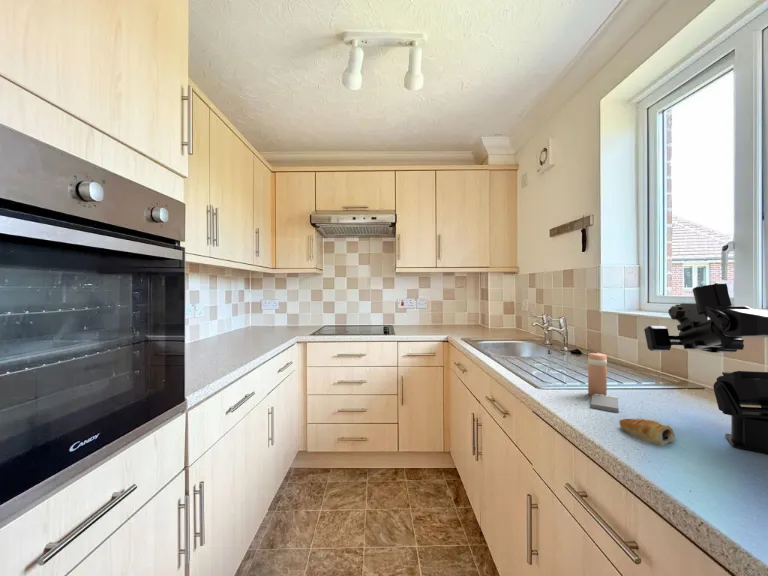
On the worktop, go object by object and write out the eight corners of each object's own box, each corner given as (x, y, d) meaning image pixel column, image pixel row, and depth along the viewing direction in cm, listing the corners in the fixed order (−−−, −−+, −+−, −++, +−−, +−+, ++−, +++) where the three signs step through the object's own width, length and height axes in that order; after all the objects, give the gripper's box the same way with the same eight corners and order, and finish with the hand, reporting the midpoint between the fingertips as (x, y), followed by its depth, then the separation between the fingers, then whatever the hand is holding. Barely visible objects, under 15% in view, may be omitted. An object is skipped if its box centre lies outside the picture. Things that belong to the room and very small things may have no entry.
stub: (606, 398, 97) (606, 356, 97) (587, 396, 99) (587, 355, 99) (606, 394, 101) (607, 354, 101) (588, 391, 103) (588, 352, 103)
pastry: (611, 430, 76) (612, 413, 76) (630, 425, 79) (630, 409, 79) (659, 448, 68) (659, 429, 68) (678, 442, 71) (678, 424, 71)
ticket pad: (618, 412, 86) (618, 407, 86) (590, 407, 90) (590, 403, 90) (617, 401, 95) (617, 397, 95) (592, 397, 98) (592, 393, 98)
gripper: (747, 300, 80) (700, 316, 94) (658, 299, 83) (626, 316, 98) (762, 347, 76) (711, 357, 91) (668, 345, 79) (633, 355, 94)
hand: (669, 344), depth 93 cm, fingers open, 9 cm apart
